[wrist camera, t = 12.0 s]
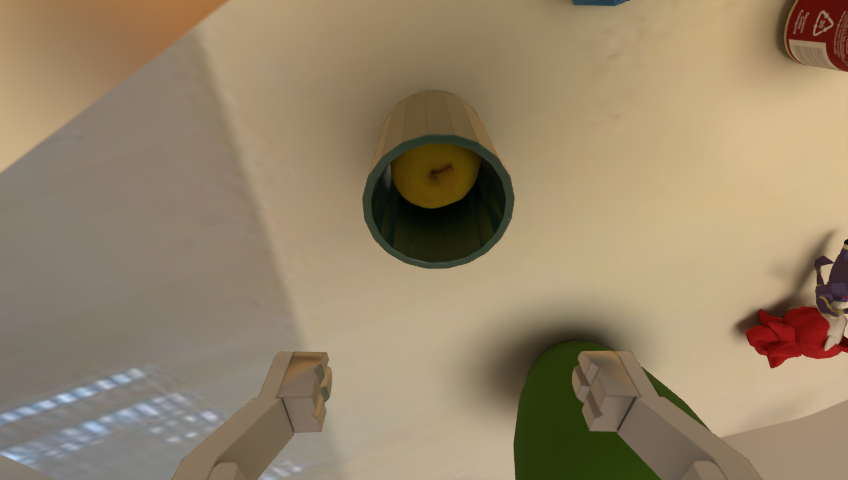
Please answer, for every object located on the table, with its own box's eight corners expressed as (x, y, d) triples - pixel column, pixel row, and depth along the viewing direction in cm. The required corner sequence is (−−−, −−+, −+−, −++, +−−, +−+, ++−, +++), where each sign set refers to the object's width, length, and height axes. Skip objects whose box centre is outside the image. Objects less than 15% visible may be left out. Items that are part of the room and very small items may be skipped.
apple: (477, 103, 28) (496, 135, 21) (468, 181, 31) (482, 229, 25) (393, 100, 28) (385, 131, 21) (394, 178, 31) (387, 227, 24)
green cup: (377, 90, 28) (355, 134, 18) (490, 90, 28) (524, 134, 19) (383, 193, 32) (369, 269, 23) (480, 193, 32) (504, 268, 23)
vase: (657, 287, 39) (922, 605, 18) (645, 394, 49) (806, 674, 29) (476, 321, 41) (531, 634, 21) (501, 417, 52) (554, 688, 31)
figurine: (881, 230, 34) (811, 338, 42) (773, 231, 36) (726, 333, 44) (946, 274, 29) (852, 387, 37) (815, 272, 31) (753, 379, 39)
